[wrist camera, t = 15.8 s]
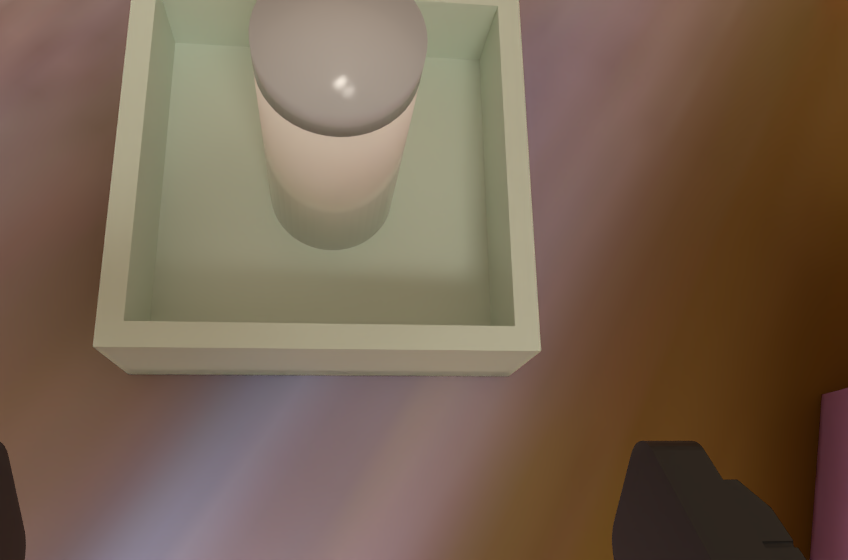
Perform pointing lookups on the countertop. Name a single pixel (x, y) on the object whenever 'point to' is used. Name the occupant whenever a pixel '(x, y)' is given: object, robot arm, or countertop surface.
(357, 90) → the salt shaker
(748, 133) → the countertop surface
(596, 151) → the countertop surface
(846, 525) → the pink storage box
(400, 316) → the bin
